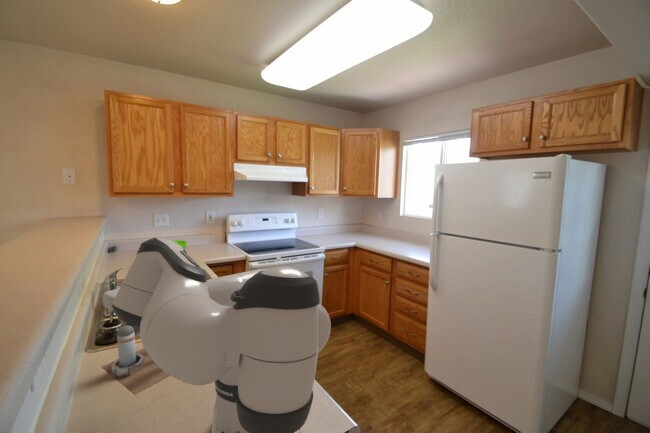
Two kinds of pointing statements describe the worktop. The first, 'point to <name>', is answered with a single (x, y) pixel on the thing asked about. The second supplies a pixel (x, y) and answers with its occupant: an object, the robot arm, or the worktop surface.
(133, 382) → the jig board
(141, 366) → the cradle
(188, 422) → the worktop surface
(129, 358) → the cylinder
